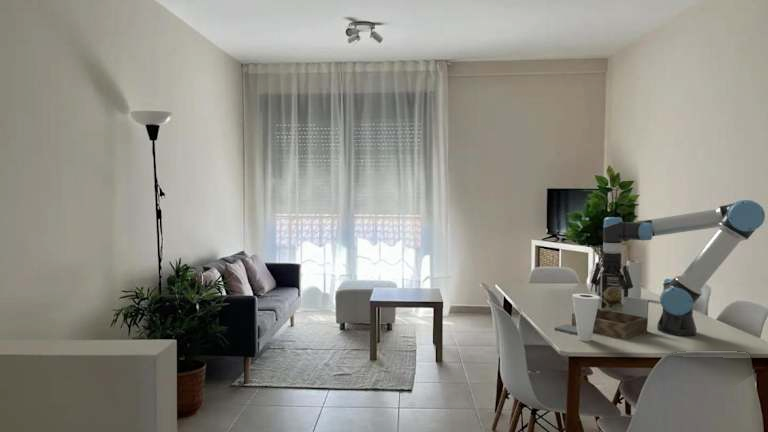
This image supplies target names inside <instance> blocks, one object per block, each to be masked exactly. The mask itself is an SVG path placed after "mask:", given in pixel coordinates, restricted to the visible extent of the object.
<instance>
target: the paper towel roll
mask: <svg viewBox="0 0 768 432" xmlns="http://www.w3.org/2000/svg"><path fill="white" fill-rule="evenodd" d="M626 265H628V266H629V269H628V271H629V274H630V278H631V281H632V284H633V288H630V289H629V290H628V296H629V297H635V298H642V297H641V296H642V275H643V273H642V271H643V261H637V260H626Z"/></svg>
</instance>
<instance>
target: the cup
mask: <svg viewBox="0 0 768 432" xmlns="http://www.w3.org/2000/svg"><path fill="white" fill-rule="evenodd" d="M571 295H572V303H573V309H574V313H575V318H576V324H577V333H578V334H577V339H578V340H579V341H582V342H591V341H592V336H593V333H594V332H593V328H594V327H593V326H594V323H595V318H596V314H597V310H598V305H599V300H600V297H599V296H597V295H596V294H592V293H591V294H590V293H572V294H571Z"/></svg>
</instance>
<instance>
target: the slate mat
mask: <svg viewBox="0 0 768 432" xmlns="http://www.w3.org/2000/svg"><path fill="white" fill-rule="evenodd" d="M554 331H557V332H558V331H559V332H563V333H567V334H570V335H576V336H577V335H578V333H577V326H573V325H572V324H570V323H567V324H563V325H559V326H556V327H554Z"/></svg>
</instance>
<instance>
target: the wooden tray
mask: <svg viewBox="0 0 768 432" xmlns="http://www.w3.org/2000/svg"><path fill="white" fill-rule="evenodd" d="M648 320H649V317H648V318H644V317H639V316H634V315H629V314H624V313H618V312H613V311H602V310H601V309H598V310H597V314H596V318H595V323H594V326H593V327H594V328H593V332H592V333H596V334H600V335H604V336H605V335H606V336H609V337H613V338H618V339H623V340H626V339H629V338H632V337H634V336H637V335H640V334H644V333H646V332H648V325H649V322H648ZM571 325H573V326H577V324H576V318H575V312H574V313H572V314H571Z"/></svg>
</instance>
